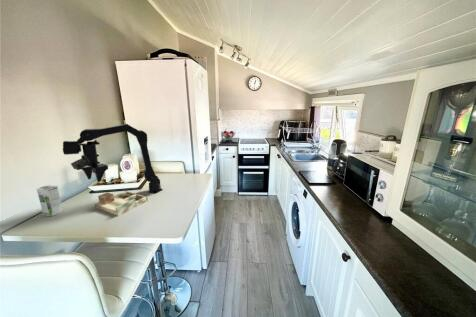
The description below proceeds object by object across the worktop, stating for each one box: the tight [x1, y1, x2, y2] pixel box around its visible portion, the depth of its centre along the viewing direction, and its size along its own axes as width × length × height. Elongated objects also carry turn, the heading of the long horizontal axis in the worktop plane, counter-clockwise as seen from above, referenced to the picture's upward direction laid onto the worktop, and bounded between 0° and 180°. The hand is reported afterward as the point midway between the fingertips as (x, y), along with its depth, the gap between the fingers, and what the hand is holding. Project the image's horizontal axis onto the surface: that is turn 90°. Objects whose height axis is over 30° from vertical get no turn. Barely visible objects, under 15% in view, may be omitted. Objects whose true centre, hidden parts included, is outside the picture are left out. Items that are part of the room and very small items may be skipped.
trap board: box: [94, 190, 149, 217], centre depth 107 cm, size 18×19×4 cm
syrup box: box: [36, 184, 64, 217], centre depth 96 cm, size 6×6×14 cm
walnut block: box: [97, 191, 115, 204], centre depth 104 cm, size 5×5×4 cm
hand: (94, 180), depth 105 cm, fingers open, 8 cm apart
